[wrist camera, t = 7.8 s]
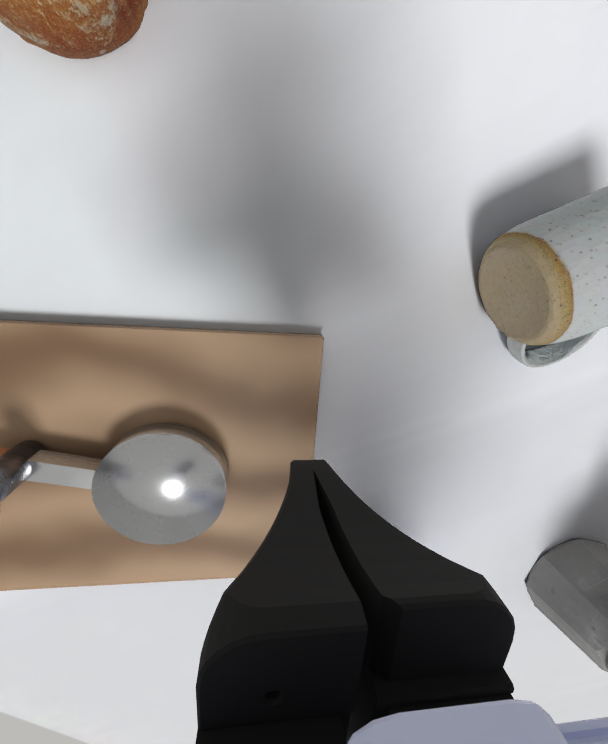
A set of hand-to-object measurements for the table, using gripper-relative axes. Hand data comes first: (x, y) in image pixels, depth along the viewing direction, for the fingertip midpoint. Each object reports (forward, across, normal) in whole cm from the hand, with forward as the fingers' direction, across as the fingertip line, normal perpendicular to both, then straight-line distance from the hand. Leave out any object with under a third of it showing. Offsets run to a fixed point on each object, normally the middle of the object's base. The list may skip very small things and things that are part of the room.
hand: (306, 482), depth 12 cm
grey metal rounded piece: (+9, +11, +5) cm, 15 cm away
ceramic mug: (+11, -17, -8) cm, 22 cm away
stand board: (+10, +10, +6) cm, 15 cm away
